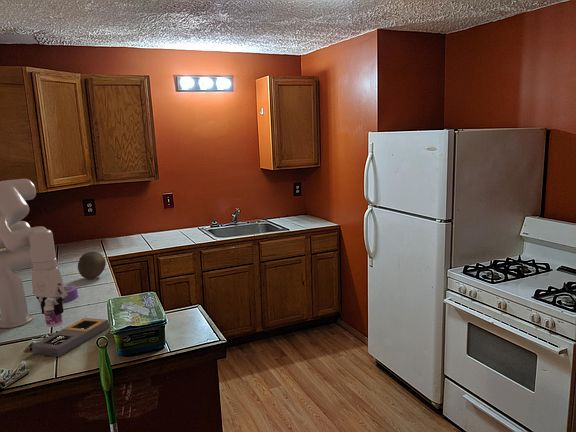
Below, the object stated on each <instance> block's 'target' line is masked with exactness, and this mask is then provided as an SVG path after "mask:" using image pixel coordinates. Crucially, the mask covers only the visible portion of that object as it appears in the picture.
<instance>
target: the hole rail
mask: <svg viewBox="0 0 576 432" xmlns="http://www.w3.org/2000/svg"><path fill="white" fill-rule="evenodd" d="M108 321H109V319H103V318H101V319H100V318H90V317H88V318H87V317H84V318H81V319H79V320H77V321H76V322H73V323H71V324H69V325H68V326H66V327H64V328H62V329H61V330H59V331H57V332H55V333H54V334H51V335H49V336H48V337H46V338H44V339H41V340H40V341H38V342H36V343H34V344H31V350H32V354H33V355H38V356H39V355H40V356H48V357H57V358H60V357H61V356H63V355H65V354H66V353H68V352H70V351H71V350H73V349H74V348H76V347H78V346H79V345H81V344H83V343H84V342H86V341H89V340H90V339H92V338H93V337H95V336H97V335H99V334H100V333H102V332H104V331H105V330H107V329H108V327H109V328H110V324H108ZM85 327H89V328H85ZM81 328H85V329H81ZM59 336H64V337H66V338H67V339H68V340H66V341H64V342H62V343H58V344H56V345H53V344H51V342H52V341H53V340H54V339H56V338H57V337H59Z"/></svg>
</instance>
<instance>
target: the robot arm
mask: <svg viewBox="0 0 576 432" xmlns="http://www.w3.org/2000/svg"><path fill="white" fill-rule="evenodd" d="M36 196H37V189H36V186H35V184H34V183H33V182H32V180H30V179H28V178H18V179H8V180H7V179H6V180H1V181H0V248H6V249H3V250H0V319H1V320H0V328H1V329H13V328H16V327H20V326H24V325H27V324H28V323H30V322H31V321H33V320H34V316H33V315H32V314H29V311H28V304H27V300H26V294H25V288H24V283H23V279H21V277H20V276H19V275H17V274H15V273H14V272H16V271H20V270H25V269H28V268H33V269H32V270H31V286H32V294H33V296H35V297H36V299H37V300H38V303H39V304H40V310H41V314H42V315H45V314H44V306H45V300H46V299H48V298H53V300H54V303H55V305H54V310H55V315H59V314H61V313H62V314H63V313H64V306H63V304H64V303H62V302H63V300H64V299H65V297H66V296H67V293H66V291H65V290H64V286H65V285H64V282H63V278H62V273H61V270H60V269H59V265H58V260H57V254H56V250H55V249H56V248H55V241H54V235H53V231H52V230H51V229H47V228H46V227H45V226H33V227H31V225H30V224H29V222H27V221H24V220H23V219H24V218H26V217H27V216H28V215H29V212H30V207H29V204H28V203H27V201H30V200H34V198H35V197H36ZM56 297H58V300H57V298H56Z"/></svg>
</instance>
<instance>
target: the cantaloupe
mask: <svg viewBox="0 0 576 432" xmlns="http://www.w3.org/2000/svg"><path fill="white" fill-rule="evenodd" d="M78 259H79V260H78V262H77V271H78V273H79V275H80V276H81V277H83V279H86V280H94V279H96V278H97V277H100V275H102V273H103V272H104V270H105V268H106V265H107V260H106V258H105V257H104V255H102V254H101V253H99V252H98V251H87V252H85V253H83V254H82V255H81V256H80V257H79V258H78Z"/></svg>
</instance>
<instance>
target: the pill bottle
mask: <svg viewBox="0 0 576 432" xmlns="http://www.w3.org/2000/svg"><path fill="white" fill-rule="evenodd" d="M54 305H55V303H54V300H53V298H48V299H46V300H45V306H44V314H43V315H44V319H45V324H46V327H47V328H55V327H59V326H60V325H62V324H63V323H64V321H63V315H62V314H63V313H61V314H59V315H55V310H54Z"/></svg>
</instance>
